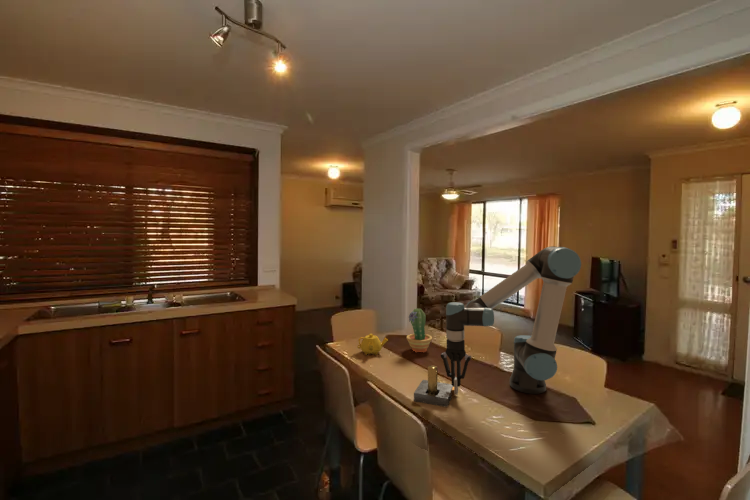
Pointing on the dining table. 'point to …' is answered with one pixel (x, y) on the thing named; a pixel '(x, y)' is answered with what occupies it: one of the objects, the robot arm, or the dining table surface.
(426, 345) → the potted cactus
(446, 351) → the robot arm
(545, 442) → the dining table surface
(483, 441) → the dining table surface
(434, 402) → the block
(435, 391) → the cylinder
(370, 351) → the teapot
